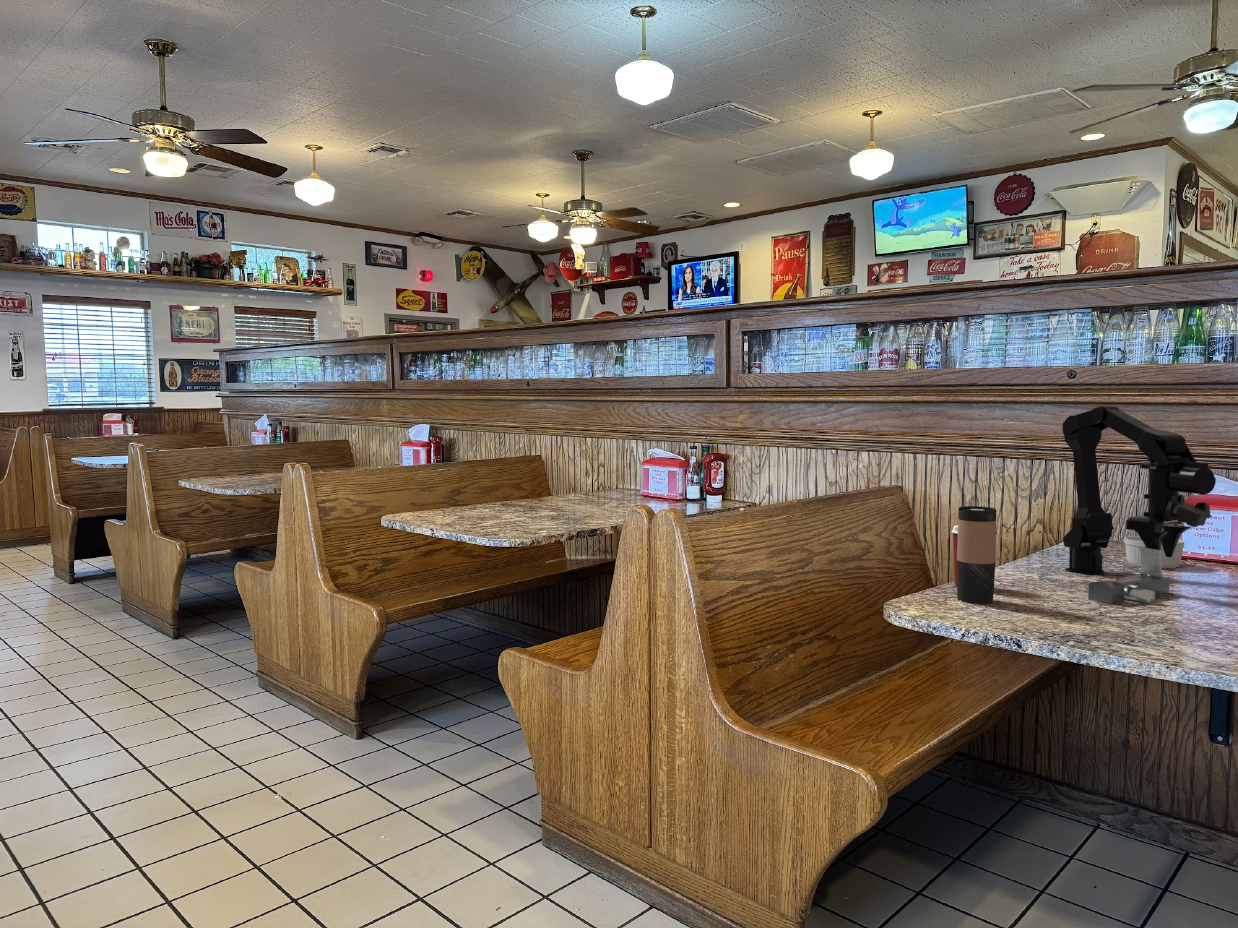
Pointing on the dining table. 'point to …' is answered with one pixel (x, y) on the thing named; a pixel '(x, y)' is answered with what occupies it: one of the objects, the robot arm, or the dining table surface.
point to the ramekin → (1136, 542)
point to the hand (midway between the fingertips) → (1162, 558)
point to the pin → (1138, 594)
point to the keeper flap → (1151, 562)
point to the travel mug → (976, 554)
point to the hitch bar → (1116, 590)
